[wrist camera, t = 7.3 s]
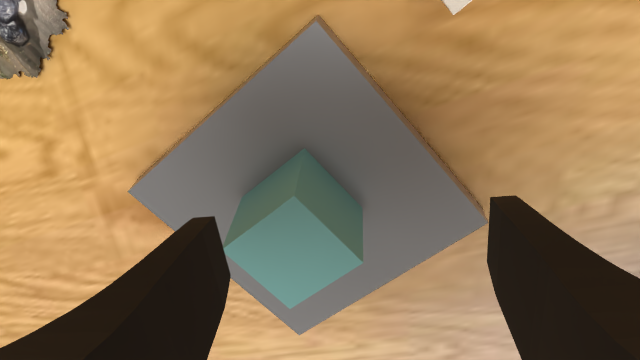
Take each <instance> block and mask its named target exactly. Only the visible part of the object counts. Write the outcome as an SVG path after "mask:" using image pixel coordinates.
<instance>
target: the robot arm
mask: <svg viewBox="0 0 640 360" xmlns="http://www.w3.org/2000/svg"><path fill="white" fill-rule="evenodd" d="M487 263H488V267H489V271H490V275H491V279H492V283H493V287H494V291H495V294H496V297H497V300H498V302H499V305H500V307H501V310H502V312H503V315H504V317H505V320H506V322H507V325H508V327H509V329H510V332H511V334H512V337H513V339H514V342H515V344H516V346H517V349H518V351H519V354H520V356H521V359H522V360H640V279H639V278H637V277H636V276H634V275H632V274H630V273H628V272H626V271H624V270H623V269H621V268H619V267H617V266H616V265H614V264H612V263H610V262H609V261H607V260H606V259H604V258H602V257H601V256H599V255H598V254H596V253H594V252H593V251H591V250H590V249H588V248H587V247H585V246H584V245H582V244H581V243H579V242H578V241H576V240H575V239H573V238H572V237H570V236H569V235H568V234H566V233H565V232H563V231H562V230H561V229H559V228H558V227H557V226H555V225H554V224H553V223H551V222H550V221H549V220H547V219H546V218H545V217H543V216H542V215H541V214H539V213H538V212H537V211H536V210H534V209H533V208H532V207H530V206H529V205H528V204H527V203H525V202H524V201H523V200H521V199H520V198H518V197H517V196H502V197H490V216H489V234H488V253H487ZM230 277H231V274H230V270H229V267H228V263H227V260H226V256H225V252H224V249H223V245H222V241H221V238H220V234H219V230H218V227H217V223H216V219H215V216H210V217H196V218H192V219H191V220H189V221H188V222H186V223H185V224H184V225H183V226H181V227H180V228H179V229H178V230H177V231H175V232H174V233H173V234H172V235H171V236H170V237H168V238H167V239H166V240H165V241H164V242H163V243H161V244H160V245H159V246H158V247H157V248H155V249H154V250H153V251H152V252H151V253H150V254H148V255H147V256H146V257H145V258H144V259H142V260H141V261H140V262H139V263H137V264H136V265H135V266H134V267H132V268H131V269H130V270H128V271H127V272H126V273H124V274H123V275H122V276H121V277H119V278H118V279H117V280H115V281H114V282H113V283H112V284H110V285H109V286H107V287H106V288H105V289H103V290H102V291H100V292H99V293H97V294H96V295H95V296H93V297H91V298H90V299H88V300H87V301H85V302H84V303H82V304H81V305H79V306H78V307H76V308H74V309H73V310H71V311H69V312H68V313H66V314H64V315H62V316H61V317H59V318H57V319H55V320H54V321H52V322H50V323H48V324H47V325H45V326H43V327H41V328H39V329H38V330H36V331H34V332H32V333H30V334H28V335H26V336H24V337H22V338H20V339H18V340H16V341H14V342H12V343H10V344H8V345H6V346H4V347H2V348H0V360H207V358H208V355H209V352H210V349H211V346H212V343H213V340H214V338H215V335H216V332H217V329H218V326H219V323H220V320H221V317H222V314H223V311H224V308H225V303H226V298H227V294H228V288H229V282H230Z"/></svg>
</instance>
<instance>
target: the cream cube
mask: <svg viewBox="0 0 640 360" xmlns="http://www.w3.org/2000/svg"><path fill="white" fill-rule="evenodd" d="M441 1H442V2H443V3H444V4H445V6H446V7H447V8H448V9H449V10H450V12H451V13H452V14H453V15H455V14H456V13H457V12H458V11H460V10H461V9H462V8H463V7H465V6H466V5H467V4H468V3H470V2H471V1H472V0H441Z"/></svg>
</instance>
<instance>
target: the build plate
mask: <svg viewBox="0 0 640 360" xmlns="http://www.w3.org/2000/svg"><path fill="white" fill-rule="evenodd" d="M304 148H305V149H306V150H307V151H308V152H309V153H310V154H311V155H312V156H313V157H314V158H315V159H316V160H317V161H318V163H319V164H320V165H321V166H322V167H323V168H324V169H325V170H326V171H327V172H328V173H329V174H330V175H331V176H332V177H333V178H334V179H335V180H336V181H337V182H338V183H339V184H340V185H341V186H342V187H343V188H344V189H345V190H346V191H347V192H348V193H349V194H350V195H351V197H352V198H353V199H354V200H355V201H356V202H357V203H358V204H359V205H360V206H361V207H362V212H363V263H362V264H361V265H359V266H358V267H356V268H355V269H353V270H351V271H350V272H348V273H347V274H345V275H343V276H342V277H340V278H339V279H337V280H335V281H334V282H332V283H331V284H329V285H327V286H326V287H324V288H323V289H321V290H320V291H318V292H316V293H315V294H313V295H312V296H310V297H308V298H307V299H305V300H304V301H302V302H300V303H299V304H297V305H296V306H294V307H292V308H291V309H289V308H288V307H287V306H286V305H284V304H283V303H282V302H281V301H280V300H279V299H277V298H276V297H275V296H274V295H273V294H272V293H270V292H269V291H268V290H267V289H266V288H265V287H263V286H262V285H261V284H260V283H259V282H258V281H256V280H255V279H254V278H253V277H252V276H251V275H249V274H248V273H247V272H246V271H245V270H244V269H242V268H241V267H240V266H239V265H238V264H237V263H235V262H234V261H233V260H232V259H231V258H229V257H228V256H227V255H226V254H225V256H226V260H227V263H228V267H229V270H230V274H231V277H230V278H231V279H233V280H234V281H235V282H236V283H237V284H239V285H240V286H241V287H242V288H243V289H245V290H246V291H247V292H248V293H249V294H251V295H252V296H253V297H254V298H255V299H257V300H258V301H259V302H260V303H261V304H263V305H264V306H265V307H266V308H267V309H269V310H270V311H271V312H272V313H273V314H274V315H276V316H277V317H278V318H279V319H280V320H282V321H283V322H284V323H285V324H286V325H288V326H289V327H290V328H291V329H292V330H294V331H295V332H296V333H297V334H298V335H300V334H302V333H304V332H305V331H307V330H309V329H311V328H312V327H314V326H316V325H317V324H319V323H321V322H322V321H324V320H326V319H327V318H329V317H331V316H332V315H334V314H336V313H337V312H339V311H341V310H342V309H344V308H346V307H347V306H349V305H351V304H353V303H354V302H356V301H358V300H359V299H361V298H363V297H364V296H366V295H368V294H369V293H371V292H373V291H374V290H376V289H378V288H379V287H381V286H383V285H384V284H386V283H388V282H389V281H391V280H393V279H395V278H396V277H398V276H400V275H401V274H403V273H405V272H406V271H408V270H410V269H411V268H413V267H415V266H416V265H418V264H420V263H421V262H423V261H425V260H426V259H428V258H430V257H431V256H433V255H435V254H437V253H438V252H440V251H442V250H443V249H445V248H447V247H448V246H450V245H452V244H453V243H455V242H457V241H458V240H460V239H462V238H463V237H465V236H467V235H468V234H470V233H472V232H474V231H475V230H477V229H479V228H480V227H482V226H484V225H485V224H487V223H488V221H487V218H486V216H485V214H484V211H483V209H482V207H481V206H480V205H479V204H478V203H477V202H476V200H475V199H474V198H473V197H472V196H471V194H470V193H469V192H468V191H467V190H466V189H465V187H464V186H463V185H462V184H461V183H460V181H459V180H458V179H457V178H456V177H455V176H454V174H453V173H452V172H451V171H450V170H449V168H448V167H447V166H446V165H445V164H444V163H443V161H442V160H441V159H440V158H439V157H438V156H437V154H436V153H435V152H434V151H433V150H432V148H431V147H430V146H429V145H428V144H427V143H426V141H425V140H424V139H423V138H422V137H421V135H420V134H419V133H418V132H417V131H416V130H415V128H414V127H413V126H412V125H411V124H410V122H409V121H408V120H407V119H406V118H405V117H404V115H403V114H402V113H401V112H400V111H399V109H398V108H397V107H396V106H395V105H394V104H393V102H392V101H391V100H390V99H389V98H388V96H387V95H386V94H385V93H384V92H383V91H382V89H381V88H380V87H379V86H378V85H377V83H376V82H375V81H374V80H373V79H372V78H371V76H370V75H369V74H368V73H367V72H366V70H365V69H364V68H363V67H362V66H361V65H360V63H359V62H358V61H357V60H356V59H355V57H354V56H353V55H352V54H351V53H350V52H349V50H348V49H347V48H346V47H345V46H344V44H343V43H342V42H341V41H340V40H339V39H338V37H337V36H336V35H335V34H334V33H333V31H332V30H331V29H330V28H329V27H328V26H327V24H326V23H325V22H324V21H323V20H322V18H321V17H320V16H319V15H317V16H316V17H315V18H314V19H313V20H312V21H311V22H310V23H309V24H307V25H306V26H305V27H304V28H303V29H302V30H301V31H300V32H299V33H298V34H296V35H295V36H294V37H293V38H292V39H291V40H290V41H289V42H288V43H287V44H285V45H284V46H283V47H282V48H281V49H280V50H279V51H278V52H277V53H276V54H275V55H273V56H272V57H271V58H270V59H269V60H268V61H267V62H266V63H265V64H264V65H262V66H261V67H260V68H259V69H258V70H257V71H256V72H255V73H254V74H253V75H251V76H250V77H249V78H248V79H247V80H246V81H245V82H244V83H243V84H242V85H240V86H239V87H238V88H237V89H236V90H235V91H234V92H233V93H232V94H231V95H230V96H228V97H227V98H226V99H225V100H224V101H223V102H222V103H221V104H220V105H219V106H217V107H216V108H215V109H214V110H213V111H212V112H211V113H210V114H209V115H208V116H206V117H205V118H204V119H203V120H202V121H201V122H200V123H199V124H198V125H197V126H196V127H194V128H193V129H192V130H191V131H190V132H189V133H188V134H187V135H186V136H185V137H183V138H182V139H181V140H180V141H179V142H178V143H177V144H176V145H175V146H174V147H172V148H171V149H170V150H169V151H168V152H167V153H166V154H165V155H164V156H163V157H162V158H160V159H159V160H158V161H157V162H156V163H155V164H154V165H153V166H152V167H151V168H149V169H148V170H147V171H146V172H145V173H144V174H143V175H142V176H141V177H140V178H138V179H137V181H136V182H135V183H134V184H133V186H132V187H131V188H130V190H129V191H128V192H129V193H130V194H131V195H132V196H133V197H135V198H136V199H137V200H138V201H139V202H141V203H142V204H143V205H144V206H145V207H147V208H148V209H149V210H150V211H151V212H153V213H154V214H155V215H156V216H157V217H159V218H160V219H161V220H162V221H163V222H165V223H166V224H167V225H168V226H169V227H171V228H172V229H173V230H174V231H177V230H178V229H179V228H180V227H181V226H183V225H184V224H185V223H186V222H188V221H189V220H191V219H192V218H196V217H210V216H215V219H216V223H217V227H218V230H219V234H220V238H221V241H222V245H223V244H224V241H225V239H226V236H227V234H228V231H229V229H230V226H231V223H232V221H233V218H234V216H235V213H236V211H237V208H238V206H239V203H240V201H241V198H242V197H243V196H244V195H245V194H247V193H248V192H249V191H251V190H252V189H253V188H254V187H256V186H257V185H258V184H259V183H261V182H262V181H263V180H265V179H266V178H267V177H268V176H270V175H271V174H272V173H273V172H275V171H276V170H277V169H279V168H280V167H281V166H282V165H284V164H285V163H286V162H287V161H289V160H290V159H291V158H293V157H294V156H295V155H296V154H298V153H299V152H300V151H301V150H303V149H304Z"/></svg>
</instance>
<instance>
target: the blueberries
mask: <svg viewBox="0 0 640 360" xmlns="http://www.w3.org/2000/svg"><path fill="white" fill-rule="evenodd" d="M56 3H57V0H0V78H1V79H3V78H7V80H8V79H10V78H12V77H13V74H16V75H17V76H18V77H19V75H20V74H19V73H18V72H19V71H22V72H25V73H24V75H26V76H28V77H30V76H31V77H33V76H34V77H36V78H37V77H38V72H40V71H41V68H39V66H40V58H41V57H42V58H43V59H45V58H47V60H49V59H50V58H49V57H48V56H47V55H48V54H50V52H51V49H49V47H48V43H49V41H48V38H49V35H52V34H55V35H58V34H62V35H63V33H62V32H61V31H62V28H63V29H64V28H66V29H67V30H68V29H69V28H68V27H67V25H65V24H66V23H65V22H64V21H62V19H63V18H67V19H68V17H67V13H66V12H65V13H64V12H62V11H60V10H58V9H57V6H56Z"/></svg>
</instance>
